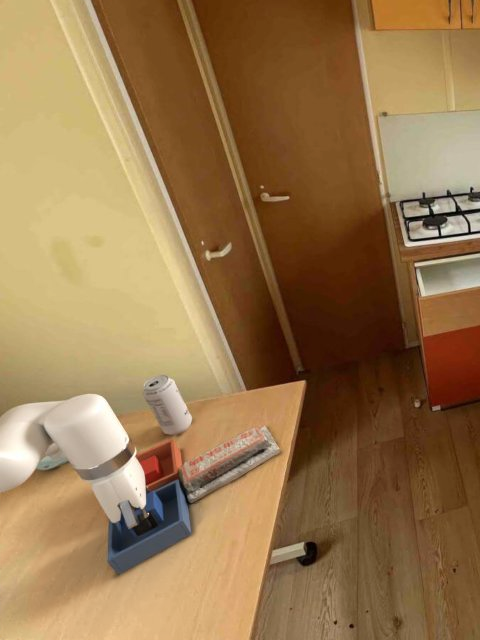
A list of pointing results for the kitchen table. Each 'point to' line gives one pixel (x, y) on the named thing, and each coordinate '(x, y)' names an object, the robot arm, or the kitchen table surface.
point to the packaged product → (226, 462)
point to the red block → (152, 470)
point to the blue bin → (139, 548)
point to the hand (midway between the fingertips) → (147, 518)
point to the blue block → (152, 508)
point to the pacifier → (52, 458)
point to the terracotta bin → (164, 463)
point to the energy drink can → (167, 404)
